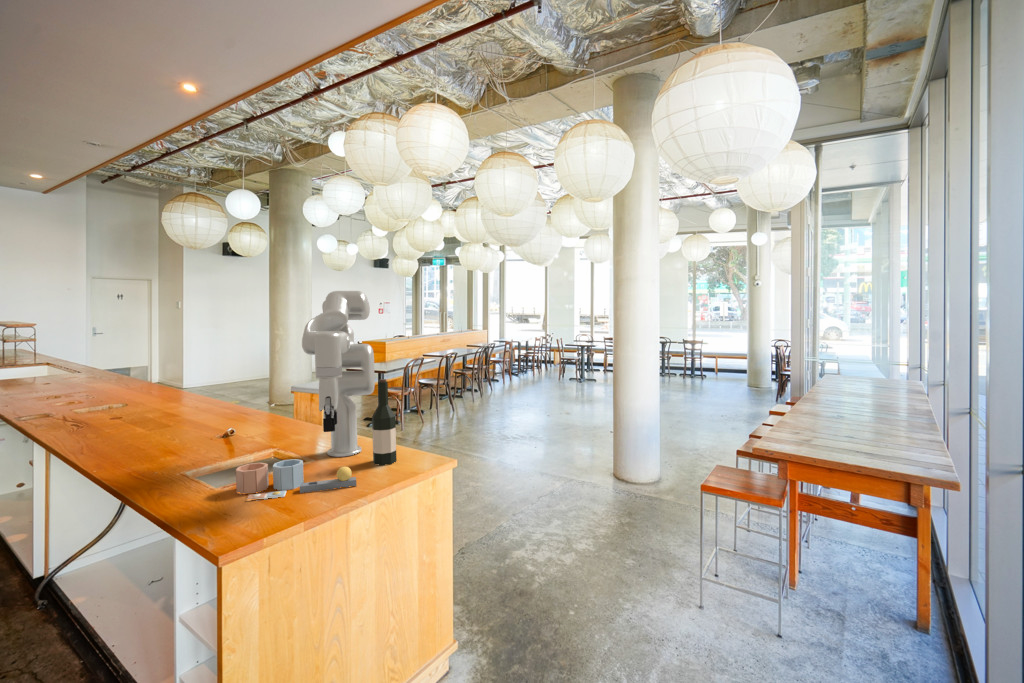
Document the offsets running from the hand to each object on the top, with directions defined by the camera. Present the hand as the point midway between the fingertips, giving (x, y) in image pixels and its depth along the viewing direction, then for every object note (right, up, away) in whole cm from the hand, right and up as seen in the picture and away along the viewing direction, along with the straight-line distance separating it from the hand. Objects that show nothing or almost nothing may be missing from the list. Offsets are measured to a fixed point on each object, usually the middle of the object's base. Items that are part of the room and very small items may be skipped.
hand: (330, 427), depth 143 cm
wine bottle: (+10, -17, +26) cm, 32 cm away
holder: (0, -18, 0) cm, 18 cm away
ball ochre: (+4, -17, +1) cm, 17 cm away
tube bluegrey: (-14, -19, +3) cm, 23 cm away
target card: (-16, -19, -7) cm, 26 cm away
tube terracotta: (-24, -19, -1) cm, 30 cm away
